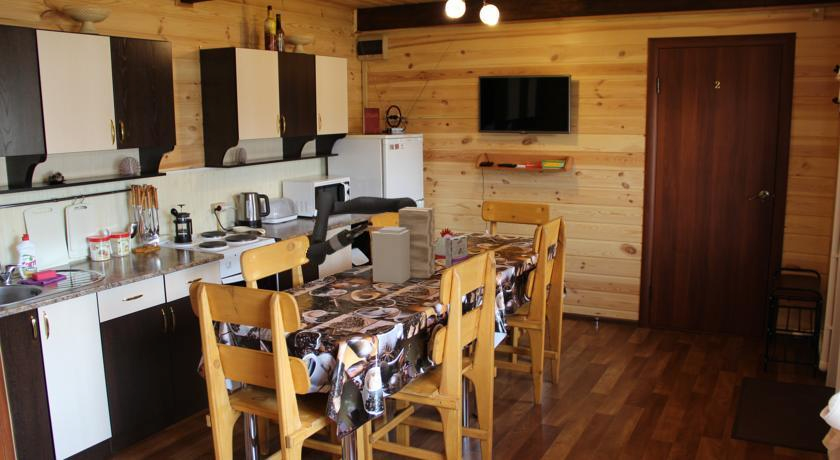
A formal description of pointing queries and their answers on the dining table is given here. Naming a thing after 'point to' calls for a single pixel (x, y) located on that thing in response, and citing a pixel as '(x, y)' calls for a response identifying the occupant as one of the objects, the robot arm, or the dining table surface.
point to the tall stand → (420, 239)
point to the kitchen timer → (442, 244)
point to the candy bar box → (456, 250)
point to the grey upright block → (391, 257)
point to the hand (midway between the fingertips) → (369, 224)
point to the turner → (385, 229)
